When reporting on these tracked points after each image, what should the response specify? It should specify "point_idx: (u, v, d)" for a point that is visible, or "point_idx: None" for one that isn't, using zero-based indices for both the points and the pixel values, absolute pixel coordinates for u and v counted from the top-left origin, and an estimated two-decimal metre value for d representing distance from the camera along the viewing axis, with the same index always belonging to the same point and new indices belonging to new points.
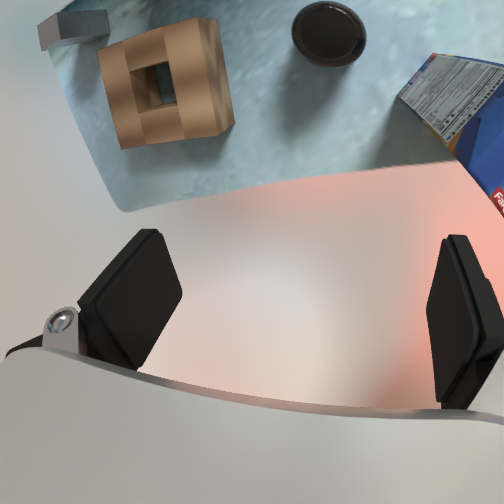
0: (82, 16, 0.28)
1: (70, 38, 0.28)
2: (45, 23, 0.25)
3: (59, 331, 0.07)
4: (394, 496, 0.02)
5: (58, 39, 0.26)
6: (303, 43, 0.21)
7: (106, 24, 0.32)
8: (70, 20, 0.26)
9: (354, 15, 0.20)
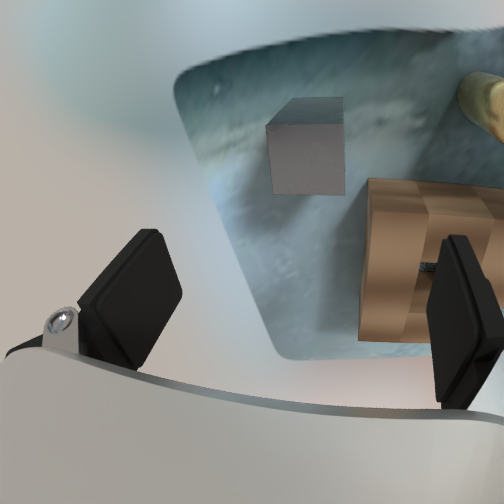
0: (343, 122, 0.19)
1: None
2: (299, 134, 0.16)
3: (59, 331, 0.07)
4: (394, 496, 0.02)
5: (337, 192, 0.17)
6: None
7: None
8: None
9: None
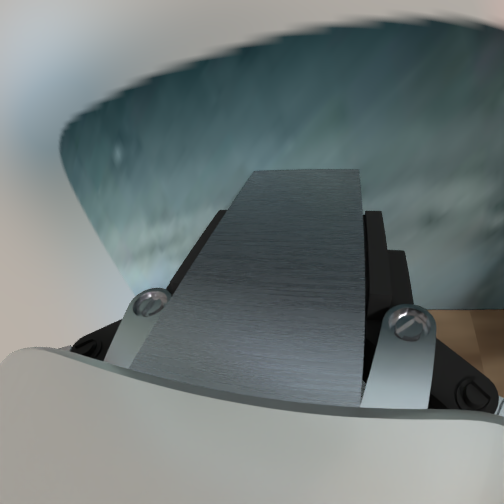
0: None
1: None
2: None
3: (145, 314, 0.08)
4: (394, 496, 0.02)
5: None
6: None
7: None
8: None
9: None
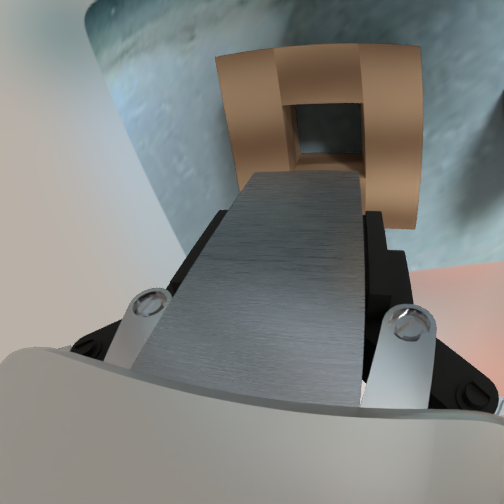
0: None
1: None
2: None
3: (145, 314, 0.08)
4: (394, 496, 0.02)
5: None
6: None
7: None
8: None
9: None
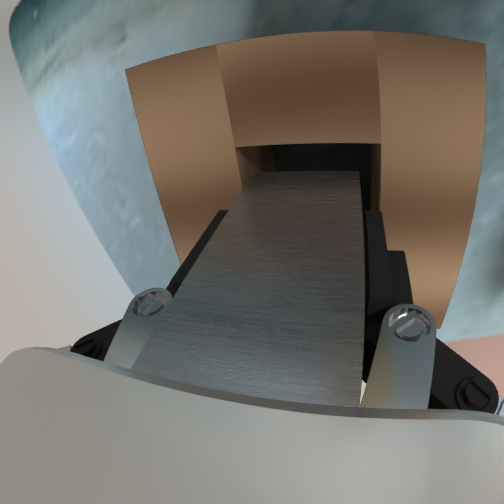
0: None
1: None
2: None
3: (144, 314, 0.08)
4: (394, 496, 0.02)
5: None
6: None
7: None
8: None
9: None
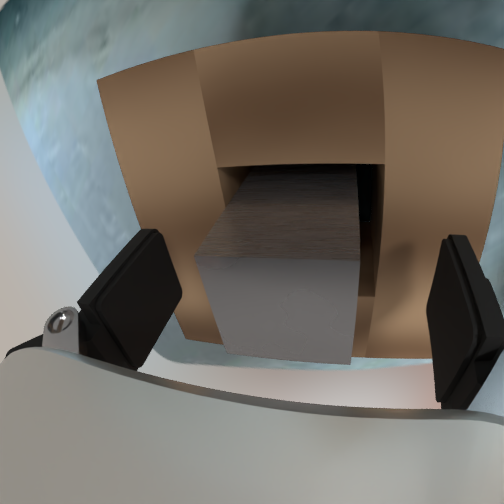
0: None
1: None
2: (263, 275, 0.08)
3: (59, 331, 0.07)
4: (394, 496, 0.02)
5: (338, 360, 0.09)
6: None
7: None
8: None
9: None
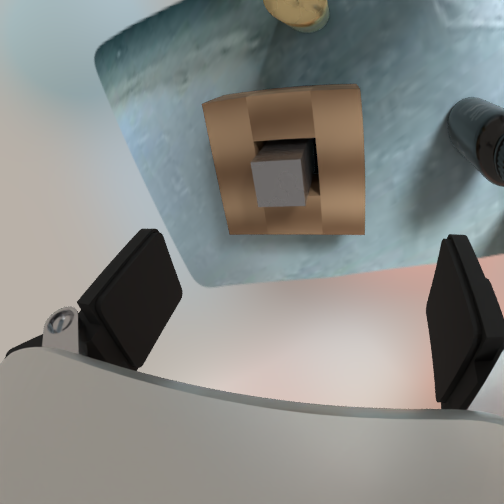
0: (307, 153, 0.28)
1: None
2: (272, 167, 0.25)
3: (59, 331, 0.07)
4: (394, 496, 0.02)
5: (300, 203, 0.26)
6: None
7: (313, 155, 0.33)
8: (305, 166, 0.26)
9: None
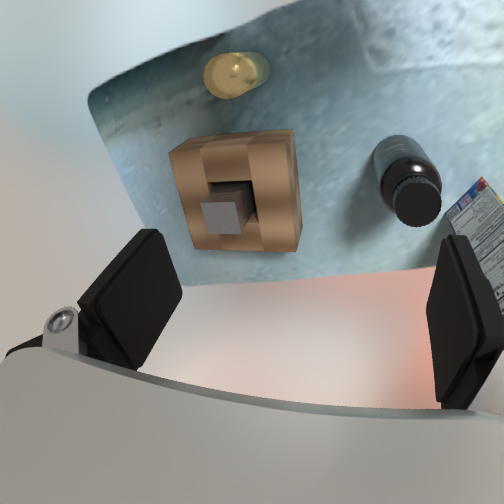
0: (248, 190, 0.37)
1: None
2: (215, 206, 0.34)
3: (59, 331, 0.07)
4: (394, 496, 0.02)
5: (237, 232, 0.36)
6: (396, 212, 0.27)
7: None
8: (243, 203, 0.36)
9: (436, 175, 0.27)
